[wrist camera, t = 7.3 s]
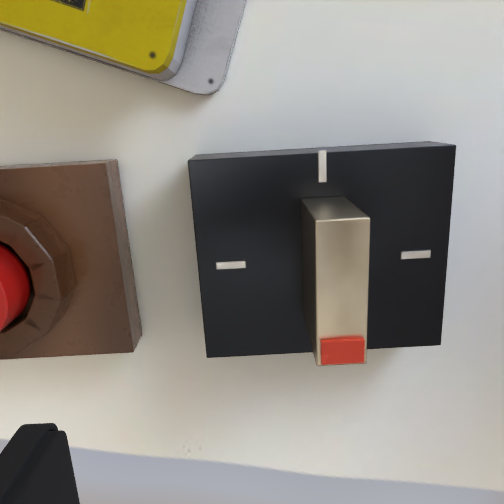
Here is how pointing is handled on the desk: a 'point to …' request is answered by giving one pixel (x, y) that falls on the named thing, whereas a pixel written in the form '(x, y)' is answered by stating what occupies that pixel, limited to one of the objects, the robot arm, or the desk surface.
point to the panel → (290, 241)
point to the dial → (335, 279)
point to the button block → (69, 260)
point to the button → (12, 287)
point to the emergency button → (137, 35)
